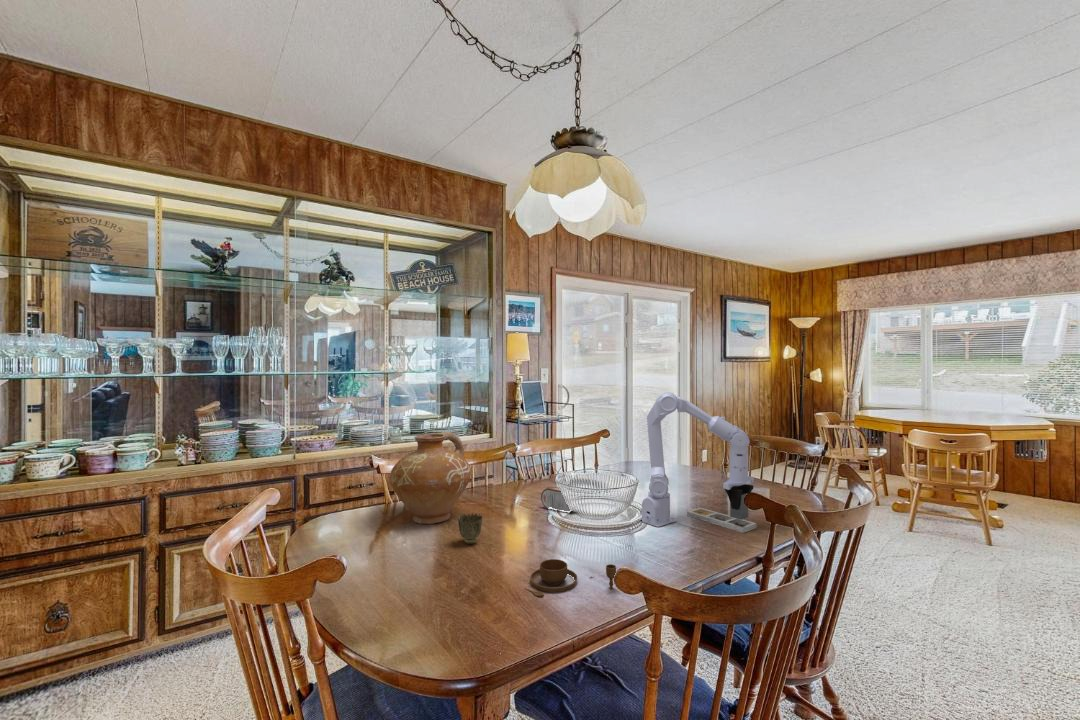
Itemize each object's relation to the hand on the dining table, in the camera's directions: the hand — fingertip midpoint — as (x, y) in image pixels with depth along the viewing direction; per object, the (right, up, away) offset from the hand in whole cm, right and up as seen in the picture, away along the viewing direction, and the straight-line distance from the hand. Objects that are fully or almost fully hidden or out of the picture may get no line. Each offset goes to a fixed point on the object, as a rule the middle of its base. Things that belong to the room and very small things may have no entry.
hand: (738, 507), depth 161 cm
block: (0, -3, 0) cm, 3 cm away
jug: (-104, -8, +12) cm, 105 cm away
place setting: (-59, -8, -41) cm, 72 cm away
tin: (-58, -7, +19) cm, 62 cm away
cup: (-87, -8, -11) cm, 88 cm away
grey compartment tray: (-4, -7, +6) cm, 9 cm away
